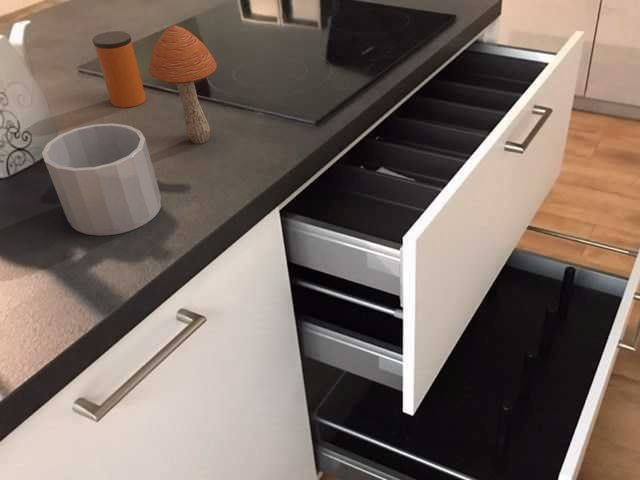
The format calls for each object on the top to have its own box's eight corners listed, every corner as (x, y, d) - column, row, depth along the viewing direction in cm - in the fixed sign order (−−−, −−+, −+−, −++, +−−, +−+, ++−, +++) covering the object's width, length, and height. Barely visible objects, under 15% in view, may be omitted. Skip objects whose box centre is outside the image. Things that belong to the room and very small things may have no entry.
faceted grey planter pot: (77, 246, 69) (51, 179, 63) (60, 200, 75) (35, 136, 70) (172, 219, 72) (155, 154, 67) (148, 178, 79) (131, 116, 74)
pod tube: (115, 110, 92) (96, 46, 86) (107, 97, 95) (88, 34, 90) (150, 103, 94) (134, 40, 88) (141, 90, 97) (125, 28, 91)
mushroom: (185, 163, 82) (157, 42, 72) (156, 139, 86) (126, 22, 76) (241, 143, 86) (221, 26, 76) (210, 122, 90) (188, 8, 80)
